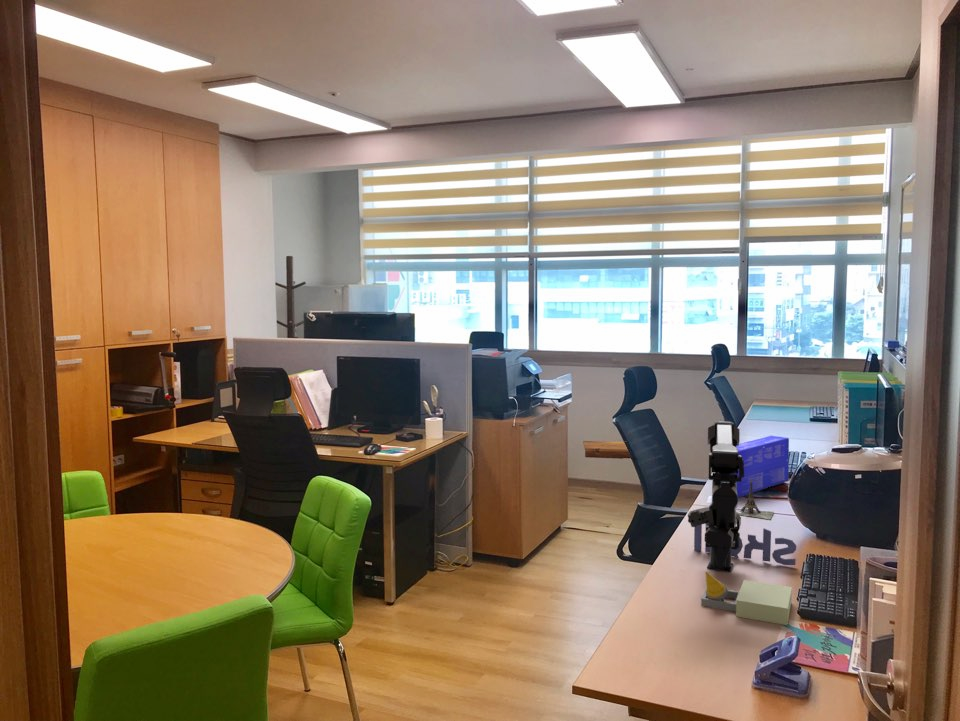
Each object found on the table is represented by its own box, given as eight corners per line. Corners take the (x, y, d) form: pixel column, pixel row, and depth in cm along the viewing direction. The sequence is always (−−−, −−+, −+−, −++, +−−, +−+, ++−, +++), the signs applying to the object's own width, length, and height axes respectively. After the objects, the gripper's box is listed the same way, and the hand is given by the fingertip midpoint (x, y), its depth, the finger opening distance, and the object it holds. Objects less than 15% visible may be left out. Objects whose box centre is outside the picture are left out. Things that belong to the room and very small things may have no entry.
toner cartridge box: (769, 478, 312) (771, 434, 310) (789, 482, 305) (790, 437, 304) (716, 494, 287) (717, 447, 286) (736, 499, 281) (737, 450, 279)
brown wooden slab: (585, 461, 348) (585, 448, 348) (583, 452, 367) (583, 441, 366) (634, 461, 346) (635, 449, 346) (630, 453, 365) (630, 441, 364)
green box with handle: (708, 589, 195) (709, 574, 194) (791, 602, 186) (791, 587, 186) (699, 609, 182) (699, 593, 182) (787, 625, 173) (787, 608, 173)
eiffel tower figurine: (725, 515, 262) (726, 477, 261) (730, 507, 271) (731, 471, 270) (770, 520, 255) (771, 482, 254) (774, 513, 264) (775, 476, 263)
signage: (795, 566, 211) (796, 532, 210) (795, 567, 211) (796, 533, 210) (694, 551, 224) (695, 519, 223) (693, 552, 224) (694, 519, 223)
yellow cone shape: (725, 590, 189) (709, 560, 186) (736, 601, 184) (720, 570, 181) (707, 601, 189) (691, 572, 186) (718, 612, 184) (702, 582, 181)
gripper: (697, 487, 196) (696, 545, 197) (683, 505, 179) (682, 568, 181) (741, 492, 191) (740, 551, 192) (731, 511, 174) (730, 576, 176)
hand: (722, 561), depth 186 cm, fingers open, 9 cm apart
